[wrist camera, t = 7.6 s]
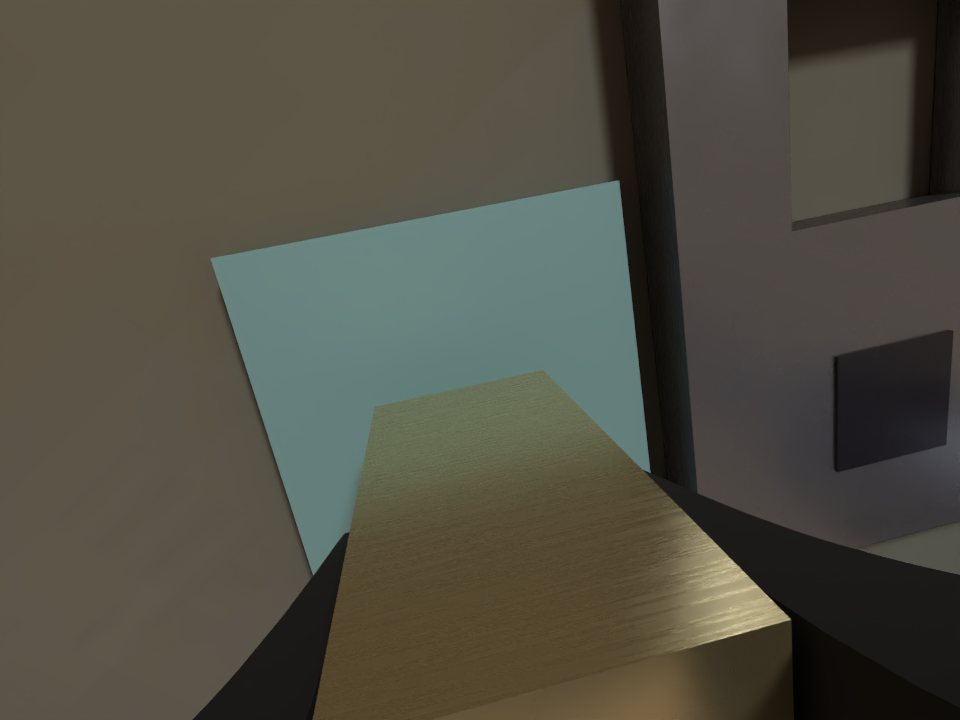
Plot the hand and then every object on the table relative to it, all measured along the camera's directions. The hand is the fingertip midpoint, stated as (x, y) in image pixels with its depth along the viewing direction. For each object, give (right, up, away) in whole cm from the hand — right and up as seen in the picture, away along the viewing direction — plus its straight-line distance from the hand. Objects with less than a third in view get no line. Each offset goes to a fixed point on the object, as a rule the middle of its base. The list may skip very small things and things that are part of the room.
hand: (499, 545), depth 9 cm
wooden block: (0, +1, +3) cm, 3 cm away
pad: (-1, +2, +7) cm, 7 cm away
